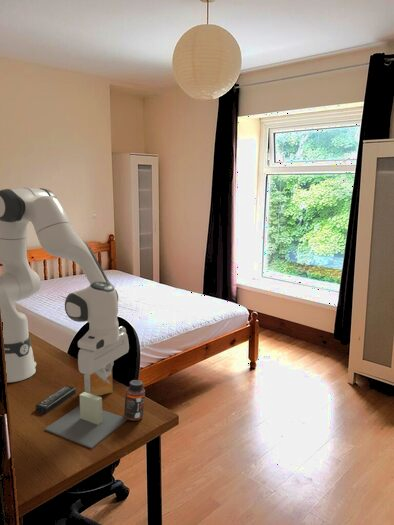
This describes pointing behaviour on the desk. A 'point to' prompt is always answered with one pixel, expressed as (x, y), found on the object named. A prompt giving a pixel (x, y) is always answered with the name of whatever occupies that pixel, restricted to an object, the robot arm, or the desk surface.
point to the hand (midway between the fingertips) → (106, 376)
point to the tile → (91, 408)
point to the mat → (85, 427)
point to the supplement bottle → (134, 401)
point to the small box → (98, 384)
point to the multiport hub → (55, 399)
